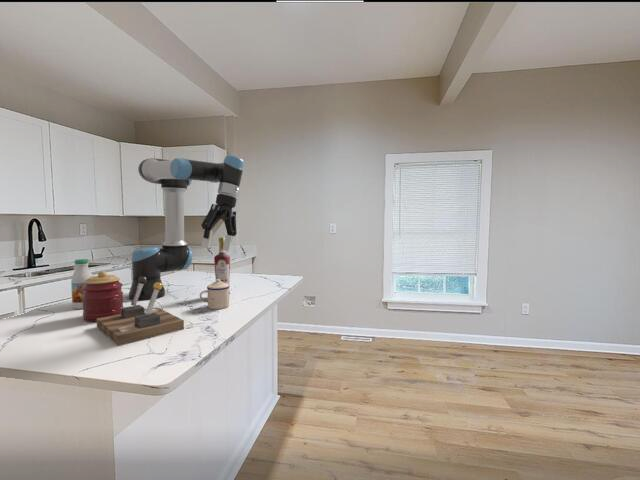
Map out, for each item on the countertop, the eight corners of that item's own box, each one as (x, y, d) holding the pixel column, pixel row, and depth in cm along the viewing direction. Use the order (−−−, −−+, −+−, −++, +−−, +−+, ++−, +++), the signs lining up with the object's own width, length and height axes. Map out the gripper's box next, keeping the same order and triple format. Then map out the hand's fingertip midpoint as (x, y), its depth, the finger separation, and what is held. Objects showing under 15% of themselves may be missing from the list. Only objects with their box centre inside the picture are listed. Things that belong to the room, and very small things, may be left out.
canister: (128, 310, 133) (126, 267, 132) (117, 321, 120) (115, 273, 119) (91, 312, 130) (89, 268, 129) (76, 323, 117) (73, 274, 116)
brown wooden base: (96, 327, 114) (96, 311, 113) (157, 314, 128) (156, 300, 128) (117, 345, 98) (117, 326, 98) (183, 328, 113) (183, 312, 112)
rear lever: (127, 303, 118) (138, 275, 120) (135, 305, 120) (146, 276, 122) (130, 305, 116) (141, 276, 118) (138, 306, 118) (149, 278, 120)
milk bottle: (68, 308, 136) (65, 260, 134) (87, 303, 143) (85, 257, 141) (80, 310, 133) (77, 261, 131) (99, 305, 140) (97, 258, 139)
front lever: (142, 311, 108) (153, 280, 110) (150, 313, 110) (161, 282, 112) (145, 313, 106) (157, 281, 108) (153, 315, 108) (165, 283, 110)
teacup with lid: (228, 302, 146) (227, 276, 145) (231, 308, 137) (230, 280, 137) (199, 305, 141) (198, 278, 140) (200, 311, 133) (199, 282, 132)
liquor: (231, 293, 162) (230, 237, 160) (230, 297, 155) (229, 238, 153) (215, 294, 160) (214, 237, 158) (214, 298, 153) (212, 238, 151)
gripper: (216, 188, 115) (204, 247, 114) (251, 204, 139) (241, 253, 137) (199, 185, 118) (186, 244, 116) (235, 202, 141) (225, 250, 140)
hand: (216, 249), depth 127 cm, fingers open, 13 cm apart
